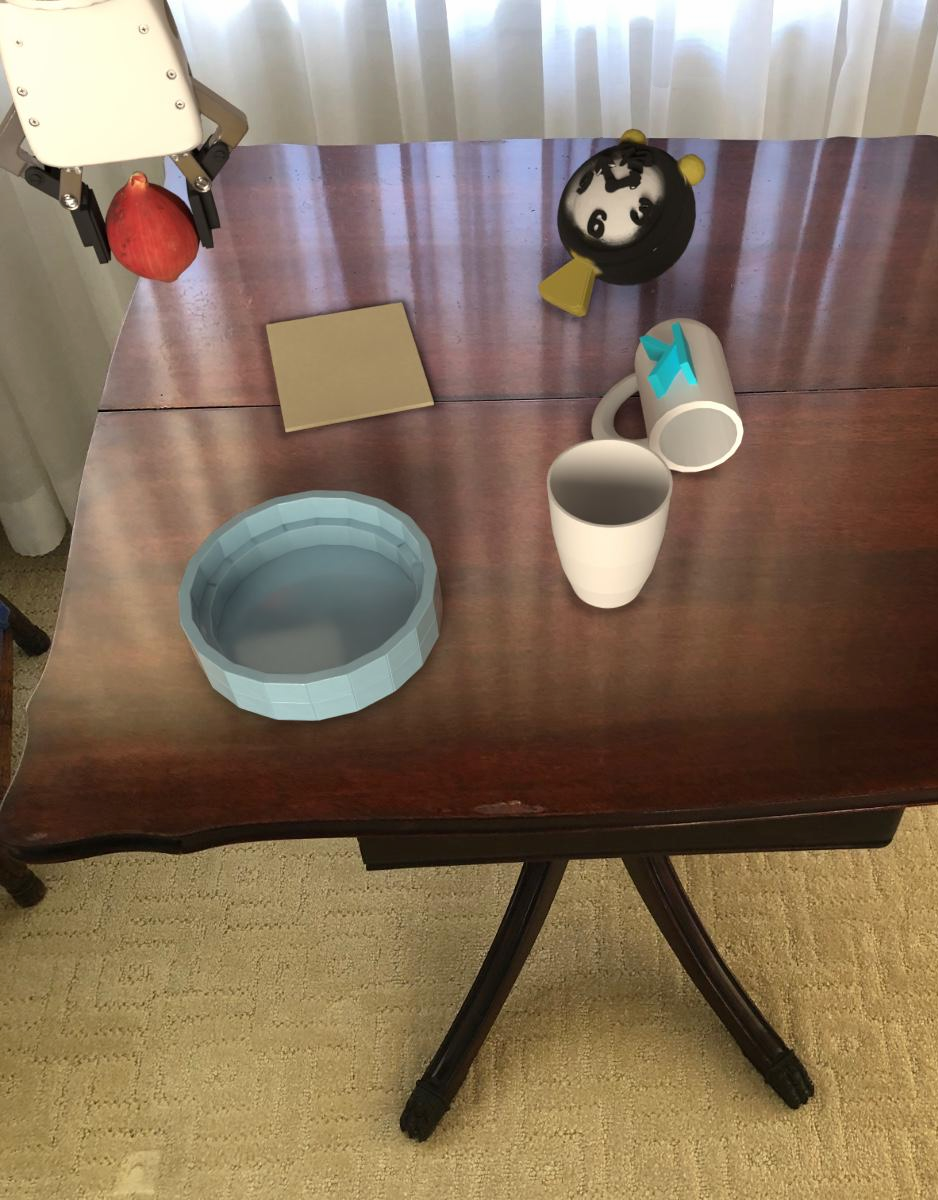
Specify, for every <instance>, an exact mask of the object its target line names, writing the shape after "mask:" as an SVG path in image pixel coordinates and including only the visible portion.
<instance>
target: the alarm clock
mask: <svg viewBox="0 0 938 1200" xmlns="http://www.w3.org/2000/svg"><path fill="white" fill-rule="evenodd" d="M706 170H707V167H706V164H705V161H704V160H703V159H702V158H701V157H700V156H698V155H697V154H694V153H688V154H684V155H683V156H682V157H680V158H679V160H678V159H675V157H674V156H673V155H672V154H670V153H668V152H667V151H666V150H663V149H661V148H659V147H656V146H652V145H649V144H648V138H647V136H646V135H645V134H644V132H643V131H642V130H640V129H638V128H629V129H627V130H625V131H624V132H623V134H621V137H620V138H619V140H618V144H615V145H613V146H609V147H606V148H604V149H602V150H600V151H597V152H596V153H595V154H594V155H592V156H590V157H589V158H588V159H585V161H584V162H583V163H582V164H580V166H579V167H577V169H576V170H575V171H574V172H573V173H572V174H571V176H570V177H569V179H568V181H567V183H566V184H565V186H564V188H563V190H562V193H561V196H560V198H559V201H558V202H559V203H558V207H557V215H556V219H557V220H556V225H557V226H556V227H557V231H558V236H559V240H560V242H561V244H562V246H563V248H564V250H566V252H567V254H568V255H569V256H570V258H571V260H570V261H568V262H567V263H566V264H564V265H563V266H561V267H560V268H559V269H557V270H556V271H555V272H553V273H552V274H551V275H549V276H548V277H546V278H545V279H544V280H542V281H541V282H540V283H538V285H537V290H538V292H539V294H540V296H541V297H542V299H544V300H545V301H546V302H548V303H549V304H551V305H553V306H555V307H557V308H559V309H561V310H563V311H565V312H567V313H569V314H571V315H573V316H576V317H584V316H586V315H587V314H588V310H589V307H590V302H591V297H592V294H593V290H594V289H593V288H594V285H595V280H596V279H597V280H599V281H600V282H601V281H602V282H603V283H606V284H610V285H616V286H636V285H641V284H644V283H647V282H650V281H652V280H654V279H657V278H658V277H660V276H662V275H664V274H665V273H666V272H668V271H669V270H670V269H671V268H672V267H673V266H674V265H675V264H676V263H677V262H678V261H679V260H680V259H681V258H682V256H683V254H684V253H685V252H686V249H687V248H688V246H689V244H690V242H691V240H692V236H693V233H694V230H695V225H696V218H697V205H696V204H697V203H696V197H695V196H696V195H695V192H694V188H693V187H695V186H697V185H698V184H700V183H701V182H702V180H703V179H704V178H705V175H706Z"/></svg>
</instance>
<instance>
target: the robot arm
mask: <svg viewBox="0 0 938 1200" xmlns="http://www.w3.org/2000/svg"><path fill="white" fill-rule="evenodd" d="M0 62H1V66H2V69H3V72H4V76H5V79H6V82H7V85H8V89H9V91H10V95H11V98H12V101H13V102H12V104H11V105H10V107H9V109H8V110H7V112H6V113H5V115H4V118H3V119H2V121H1V123H0V169H2V170H4V171H6V172H8V173H10V174H12V175H13V176H15V177H17V178H21V179H24V180H25V182H26V183H27V184H28V185H29V186H31V187H33V188H35V189H36V190H38V191H40V192H42V193H44V194H45V195H47V196H49V197H51V198H53V199H55V200H56V201H58V202H59V204H60V206H61V208H63V209H64V210H67V211H69V214H70V215H71V217H72V221H73V223H74V225H75V227H76V230H77V234H78V235H79V238H80V241H81V243H82V245H83V247H84V248H90V247H93V250H94V252H95V255H96V257H97V260H98V263H99V265H105V264H109V263H110V262H111V261H112V251H111V249H110V246H109V243H108V241H107V237H106V232H105V219H104V217H103V213H102V210H101V207H100V205H99V203H98V200H97V198H96V194H95V191H94V189H93V188H90V186H89V184H87V183H86V182H84V181H83V171H84V167H91V166H99V165H107V164H116V163H124V162H132V161H139V160H140V161H141V160H146V159H155V158H162V157H169V158H170V159H171V161H172V162H173V163H174V165H175V166H176V167H177V168H178V170H179V171H180V172H181V174H182V175H183V176H184V177H185V185H186V195H187V200H188V203H189V206H190V207H189V208H190V210H191V212H192V214H193V217H194V220H195V224H196V227H197V230H198V234H199V237H200V245H201V247H202V248H205V249H206V250H208V249H214V248H215V243H214V237H213V230H217V229H221V228H222V227H221V222H220V221H221V220H220V216H219V213H218V212H219V211H218V208H217V205H216V202H215V198H214V195H213V191H212V187H213V182H214V180H215V179H216V177H217V176H218V175H219V174H220V172H221V171H222V169H223V167H224V166H225V165H226V164H227V162H228V161H229V159H230V155H231V154H232V152H234V150H235V149H236V148H237V147H238V145H239V144H240V143H241V142H242V140H243V139H244V137H245V136H246V135H247V134H248V132H249V129H250V128H249V127H250V126H249V122H248V116H247V115H246V113H245V112H244V111H242V110H241V109H240V108H238V107H237V106H236V105H234V104H233V103H231V102H230V101H228V100H227V99H225V98H224V97H223V96H221V95H220V94H218V93H216V92H215V91H214V90H212V89H211V88H209V87H208V86H207V85H205V84H203V83H202V82H200V81H199V80H198V79H197V78H195V77H194V75H193V72H192V69H191V66H190V62H189V59H188V56H187V53H186V50H185V47H184V44H183V41H182V38H181V35H180V32H179V29H178V26H177V23H176V20H175V18H174V15H173V12H172V10H171V7H170V4H169V2H168V0H0ZM202 116H204V117H206V118H207V119H209V120H210V121H212V122H213V123H215V125H217V127H216V128H215V132H213V133H212V134H210V135H209V136H208V138H207V139H206V140H205V142H204V143H203V141H204V129H203V124H202V122H203V120H202ZM25 139H26V141H27V143H28V145H29V148H30V149H31V152H32V153H33V155H31V154H29V152H28V151H26V150H25V149H23V147H21V146H22V144H23V142H24V140H25ZM202 143H203V145H202V146H201V147H200V145H201V144H202Z"/></svg>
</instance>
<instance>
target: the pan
mask: <svg viewBox="0 0 938 1200" xmlns="http://www.w3.org/2000/svg"><path fill="white" fill-rule="evenodd" d="M441 590H442V589H441V584H440V578H439V570H438V566H437V562H436V558H435V555H434V552H433V548H432V544H431V541H430V539H429V538H428V536H426V534H425V533H424V532H423V530H422V529H421V528H420V527H419V526H418V524H417V523H416V521H415V520H414V519H413V518H412V517H411V516H410V515H408V514H407V513H405V512H403V511H402V510H400V509H398V508H397V507H395V506H394V505H392V504H391V503H388V502H387V501H385V500H383V499H381V498H377V497H375V496H370V495H367V494H362V493H359V492H356V491H351V490H330V489H329V490H327V489H326V490H324V489H321V490H320V489H312V490H306V491H301V492H296V493H290V494H286V495H281V496H276V497H272V498H270V499H268V500H265V501H263V502H261V503H258V504H255V505H254V506H252V507H251V506H250V507H249V508H247V509H244V510H242V511H240V512H238V513H237V514H235V515H234V516H233V517H231V518H230V519H229V520H227V521H226V522H225V523H223V524H222V525H220V526H219V527H218V528H217V529H215V530H214V531H212V532H211V533H210V534H209V535H208V536H206V539H204V540H203V542H202V544H200V546H199V547H198V549H197V550H196V551H195V552H194V554H193V555H192V557H191V558H190V559H189V560H188V562H187V564H186V568H185V570H184V573H183V576H182V579H181V582H180V584H179V588H178V591H177V601H178V613H179V614H178V615H179V624H180V626H181V629H182V631H183V633H184V635H185V638H186V639H187V641H188V645H189V647H190V649H191V650H192V653H193V655H194V657H195V659H196V661H197V663H198V665H199V666H200V668H201V671H202V672H203V673H204V675H205V677H206V679H207V681H208V682H209V684H210V686H211V687H212V689H214V690H215V691H217V693H219V694H220V695H222V696H223V697H224V698H225V699H227V700H228V701H230V702H231V703H233V704H234V705H235V706H236V707H237V708H239V709H243V710H245V711H248V712H251V713H254V714H257V715H260V716H263V717H267V718H269V719H273V720H276V721H277V720H278V721H312V722H313V721H314V722H315V721H322V720H326V719H332V718H334V717H339V716H343V715H347V714H351V713H356V712H359V711H361V710H363V709H365V708H367V707H369V706H370V705H372V704H374V703H377V702H378V701H380V700H382V699H384V698H386V697H388V696H389V695H392V694H393V693H394V692H396V691H398V689H400V688H401V687H402V686H403V685H404V684H405V683H406V682H407V681H408V680H409V679H410V678H411V677H413V676H414V674H416V673H417V672H418V671H419V670H420V669H421V668H422V667H423V666H424V664H425V662H426V660H427V659H428V656H429V655H430V653H431V651H432V649H433V648H434V646H435V644H436V642H437V640H438V638H439V637H440V631H441V624H442V618H443V617H442V616H443V609H444V604H443V597H442V596H443V595H442V591H441Z"/></svg>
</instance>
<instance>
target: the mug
mask: <svg viewBox="0 0 938 1200" xmlns="http://www.w3.org/2000/svg"><path fill="white" fill-rule="evenodd" d="M638 339H639V340H640V341H639V343H638V346H637V349H636V352H635V355H634V372H633V373H631V374H629V375H628V376H625V377H624V378H623V379H621V380H620V381H618V382H617V383H616V384H614V385H613V386H612V387H611V388H610V389H609V390H608V391H607V392H606V393H605V394H604V395H603V396H602V398H601V400H600V401H599V402H598V404H597V406H596V407H595V410H594V412H593V416H592V418H591V435H592V437H593V439H600V438H618V439H625V440H629V441H633V442H636V443H639V444H641V445H644V446H646V447H648V448H649V449H651V450H653V451H654V452H655V453H657V454H658V455H659V456H660V457H661V458H662V459H663V460H664V461H665V463H666V464H667V466H668V467H669V469H670V470H672V471H675V472H676V471H677V472H681V473H697V472H701V471H706V470H710V469H712V468H715V467H717V466H719V465H721V464H723V463H725V462H726V461H727V460H728V459H729V458H731V457H732V456H733V455H734V454H735V453H736V451H737V449H738V448H739V447H740V445H741V444H742V440H743V436H744V427H743V423H742V422H743V421H742V418H741V414H740V410H739V407H738V402H737V398H736V395H735V392H734V387H733V383H732V379H731V375H730V371H729V368H728V364H727V361H726V357H725V353H724V350H723V346H722V343H721V341H720V338H719V337H718V335H717V334H716V333H715V332H714V331H713V330H712V329H711V328H710V327H709V326H707V325H706V324H704V323H702V322H700V321H698V320H695V319H692V318H686V317H676V318H670V319H667V320H664V321H661V322H660V323H657V324H656V325H654V326H653V327H651V328H650V329H649V330H648V331H647V332H646V333H645V335H643V336H640V337H638ZM637 392H638V393H639V399H640V403H641V409H642V415H643V419H644V426H645V431H646V437H645V438H637V439H636V438H635V439H630V438H625V437H623V436H620V435H619V433H617V431H616V429H615V426H614V419H615V416H616V414H617V412H618V410H619V408H620V407H621V405H623V403H624V402H625V401H626V400H627V399H628V398H629V397H631V396H633V395H634V394H635V393H637Z"/></svg>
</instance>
